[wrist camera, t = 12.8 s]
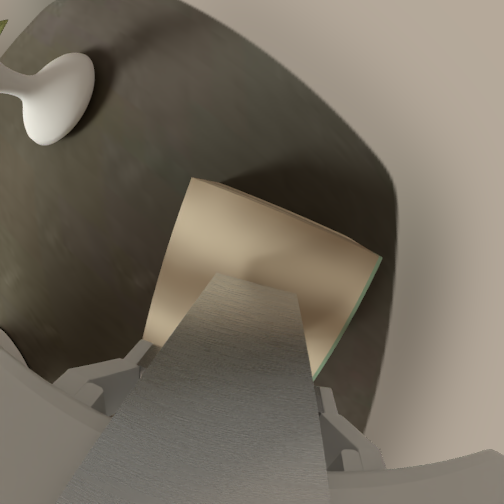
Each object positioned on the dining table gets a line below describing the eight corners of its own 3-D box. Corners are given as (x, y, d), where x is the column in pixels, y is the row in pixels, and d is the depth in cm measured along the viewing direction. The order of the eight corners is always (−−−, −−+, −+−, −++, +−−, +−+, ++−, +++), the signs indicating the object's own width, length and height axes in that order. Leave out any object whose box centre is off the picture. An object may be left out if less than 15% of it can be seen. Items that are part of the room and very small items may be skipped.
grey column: (273, 359, 16) (258, 605, 2) (202, 340, 16) (93, 563, 2) (296, 293, 15) (337, 600, 1) (216, 272, 15) (37, 531, 1)
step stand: (262, 402, 28) (258, 456, 20) (158, 361, 28) (128, 407, 20) (351, 238, 23) (384, 258, 15) (219, 182, 23) (191, 177, 15)
